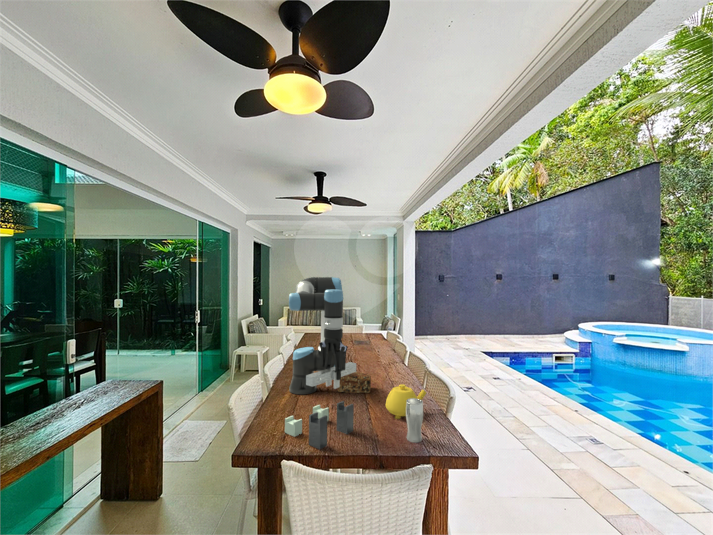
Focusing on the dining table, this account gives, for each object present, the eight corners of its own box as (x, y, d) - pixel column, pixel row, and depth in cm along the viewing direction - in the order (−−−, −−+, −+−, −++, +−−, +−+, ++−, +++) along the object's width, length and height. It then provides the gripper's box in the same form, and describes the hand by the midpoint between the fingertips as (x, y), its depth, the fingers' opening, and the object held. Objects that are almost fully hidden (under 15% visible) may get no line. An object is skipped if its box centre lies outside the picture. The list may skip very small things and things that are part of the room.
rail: (305, 384, 131) (306, 375, 131) (349, 370, 151) (349, 362, 151) (312, 386, 129) (312, 377, 129) (356, 371, 149) (356, 363, 149)
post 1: (308, 444, 133) (309, 415, 134) (316, 441, 137) (316, 412, 137) (319, 449, 130) (320, 419, 130) (327, 445, 133) (327, 415, 133)
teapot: (420, 406, 174) (420, 378, 174) (433, 419, 158) (433, 388, 159) (381, 409, 170) (381, 380, 170) (391, 422, 154) (391, 391, 155)
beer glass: (403, 435, 142) (404, 398, 143) (420, 434, 143) (420, 397, 143) (407, 443, 135) (408, 404, 136) (425, 443, 136) (425, 404, 136)
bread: (336, 393, 192) (337, 375, 192) (338, 387, 203) (338, 369, 203) (370, 393, 192) (371, 375, 192) (370, 387, 202) (370, 370, 203)
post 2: (336, 430, 146) (336, 403, 146) (342, 427, 149) (343, 400, 149) (347, 434, 142) (347, 406, 143) (353, 431, 146) (353, 404, 146)
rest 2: (312, 420, 156) (312, 407, 156) (318, 417, 159) (319, 404, 159) (322, 423, 152) (322, 410, 152) (328, 420, 156) (328, 407, 156)
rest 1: (284, 432, 144) (284, 418, 144) (292, 429, 147) (292, 415, 147) (294, 436, 140) (294, 422, 140) (302, 433, 143) (302, 419, 143)
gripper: (312, 326, 143) (311, 384, 142) (343, 331, 132) (342, 393, 132) (324, 324, 148) (324, 380, 148) (355, 329, 138) (354, 388, 138)
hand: (332, 386), depth 140 cm, fingers closed on rail, 3 cm apart
